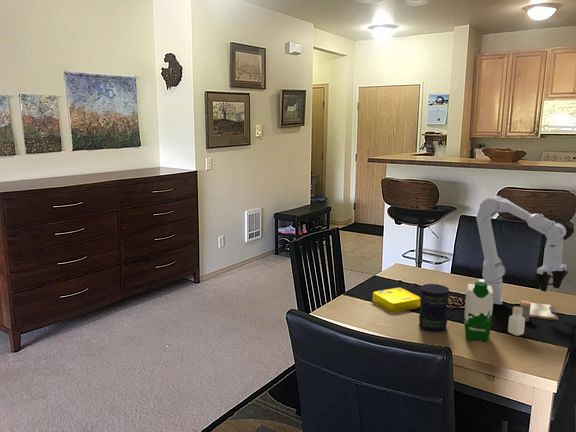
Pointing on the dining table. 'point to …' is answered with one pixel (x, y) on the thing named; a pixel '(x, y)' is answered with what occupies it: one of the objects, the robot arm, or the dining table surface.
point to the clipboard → (543, 311)
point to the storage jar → (433, 308)
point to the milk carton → (478, 311)
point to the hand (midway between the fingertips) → (549, 289)
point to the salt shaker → (516, 322)
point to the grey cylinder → (526, 309)
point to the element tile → (396, 299)
